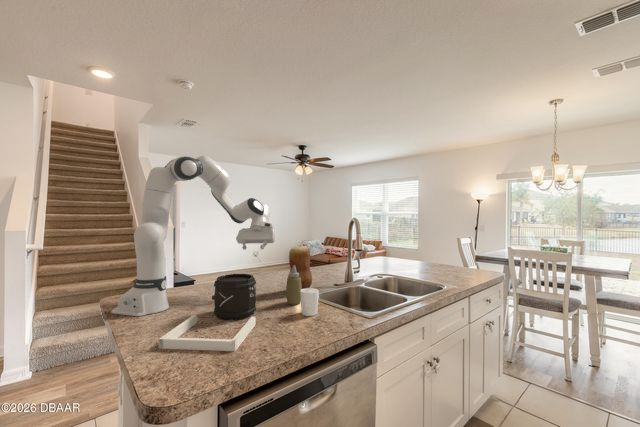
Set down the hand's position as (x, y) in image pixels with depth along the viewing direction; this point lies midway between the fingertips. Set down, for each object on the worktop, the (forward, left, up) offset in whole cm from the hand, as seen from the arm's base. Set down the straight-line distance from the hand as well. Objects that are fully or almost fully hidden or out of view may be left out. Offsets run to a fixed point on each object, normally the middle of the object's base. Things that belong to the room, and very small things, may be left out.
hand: (252, 248), depth 154 cm
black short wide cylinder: (0, -26, -25) cm, 36 cm away
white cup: (+32, -23, -25) cm, 46 cm away
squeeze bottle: (+23, -9, -25) cm, 35 cm away
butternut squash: (+23, +12, -25) cm, 36 cm away
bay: (0, -48, -25) cm, 54 cm away
